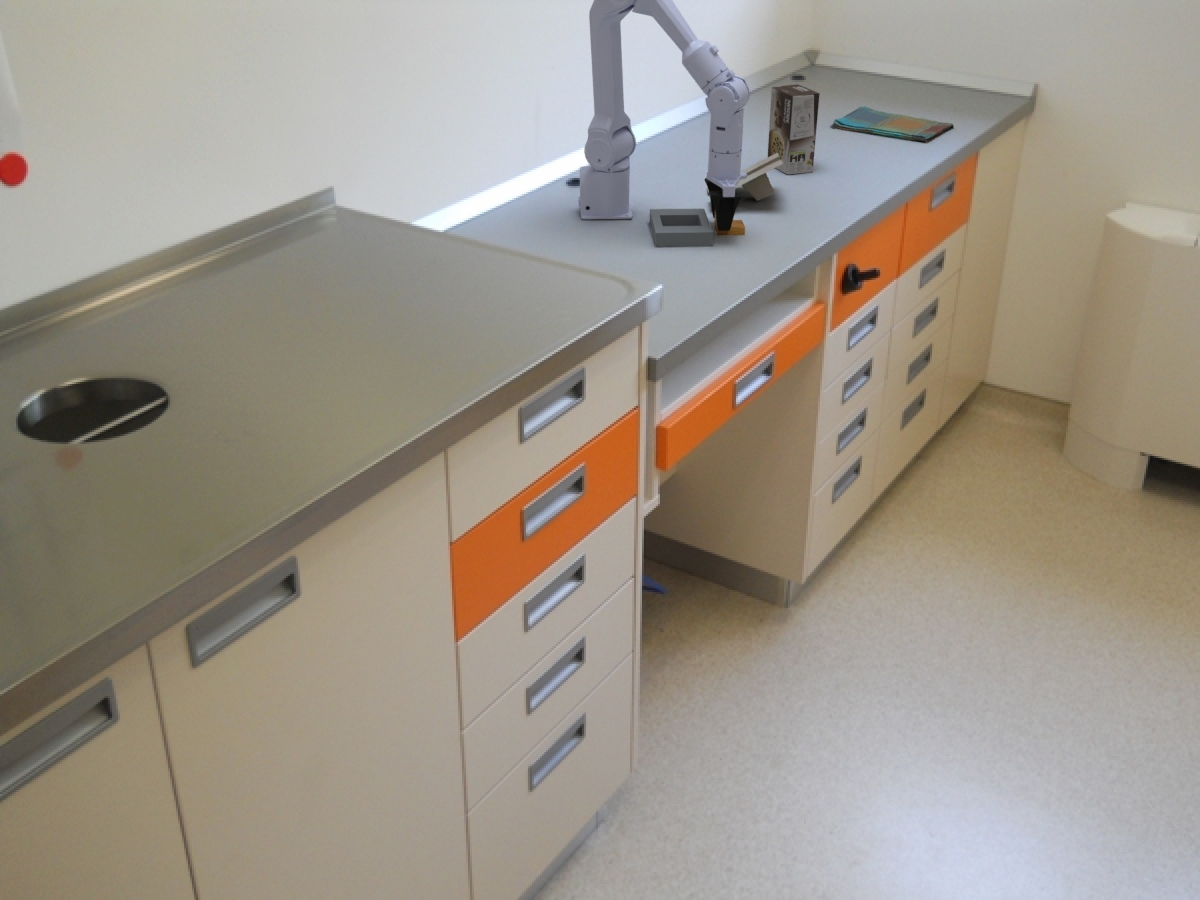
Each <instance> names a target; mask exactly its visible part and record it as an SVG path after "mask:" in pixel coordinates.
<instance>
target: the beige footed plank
mask: <svg viewBox="0 0 1200 900" xmlns="http://www.w3.org/2000/svg"><path fill="white" fill-rule="evenodd" d="M782 164H783V162H782V160H781V159H780V156H779V154H778V153H776V154H774V155H772V156H770V157H768V156H767V157H765V158H764V159H761V160H759V161H757V162H756V163H754V164H752V165H750V166H748V167H747V168H744V169H743V170H740V172H745V173H746V174H747V178H746V179H741V180H740V181H739V182H738V184H737V185H736V187H735V189H738V188H739V187H742V188H743V189H744V190H745V191H746V192H747V193H748V194H749V195H750V196H751V197H752V198H753V199H754V200H756V201H757V202H758V201H761V200H763V199H765V198H767V197H768V196H771V195H772V194H774V193H775V191H774V188H773V186H772V184H771V181H770V179H769V177H768V175H767V172H770V171H772V170H773V169H776V167H778V166H780V165H782ZM706 190H707V194H709V190H708V187H707V188H706ZM708 197H709V198H710V195H709V196H708Z"/></svg>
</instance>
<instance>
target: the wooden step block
mask: <svg viewBox="0 0 1200 900" xmlns="http://www.w3.org/2000/svg"><path fill="white" fill-rule="evenodd" d="M713 223H714V224H713V229H714V231H715V235H716V236H745V235H746V226H745V224H744V221H743V219H733V222H732V225H731V228H730V231H718V228H717V222H716V212H715V219H714V222H713Z"/></svg>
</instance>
